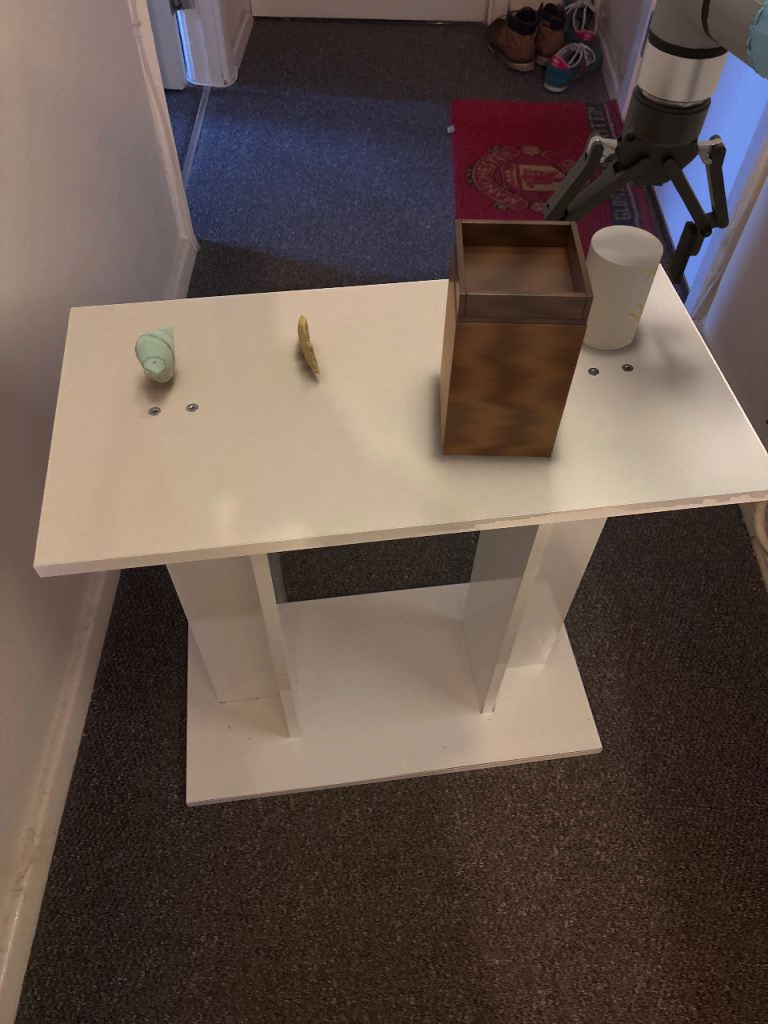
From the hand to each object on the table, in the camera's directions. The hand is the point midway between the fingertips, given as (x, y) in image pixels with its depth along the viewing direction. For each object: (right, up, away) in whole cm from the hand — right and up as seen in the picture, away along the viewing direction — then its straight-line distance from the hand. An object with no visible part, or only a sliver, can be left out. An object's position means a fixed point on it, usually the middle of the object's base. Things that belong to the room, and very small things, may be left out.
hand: (616, 276), depth 90 cm
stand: (-15, -17, -4) cm, 23 cm away
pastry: (-37, -10, +2) cm, 38 cm away
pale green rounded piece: (-54, -13, 0) cm, 56 cm away
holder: (-15, -6, -18) cm, 24 cm away
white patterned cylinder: (0, -5, +6) cm, 8 cm away
